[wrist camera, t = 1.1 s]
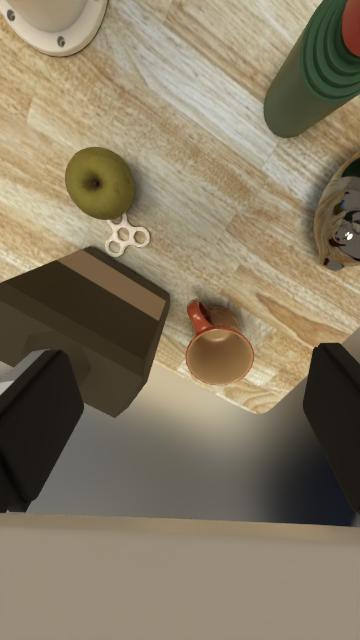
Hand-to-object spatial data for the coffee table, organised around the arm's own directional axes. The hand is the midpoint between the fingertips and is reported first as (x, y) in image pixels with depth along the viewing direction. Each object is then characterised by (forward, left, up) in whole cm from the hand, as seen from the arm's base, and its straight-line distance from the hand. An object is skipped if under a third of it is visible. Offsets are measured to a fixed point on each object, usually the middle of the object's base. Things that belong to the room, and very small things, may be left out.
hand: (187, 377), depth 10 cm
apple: (-9, -11, -30) cm, 33 cm away
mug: (+11, +1, -30) cm, 32 cm away
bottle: (+5, -13, -30) cm, 33 cm away
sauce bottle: (-15, +12, -30) cm, 35 cm away
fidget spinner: (-3, -10, -30) cm, 31 cm away
